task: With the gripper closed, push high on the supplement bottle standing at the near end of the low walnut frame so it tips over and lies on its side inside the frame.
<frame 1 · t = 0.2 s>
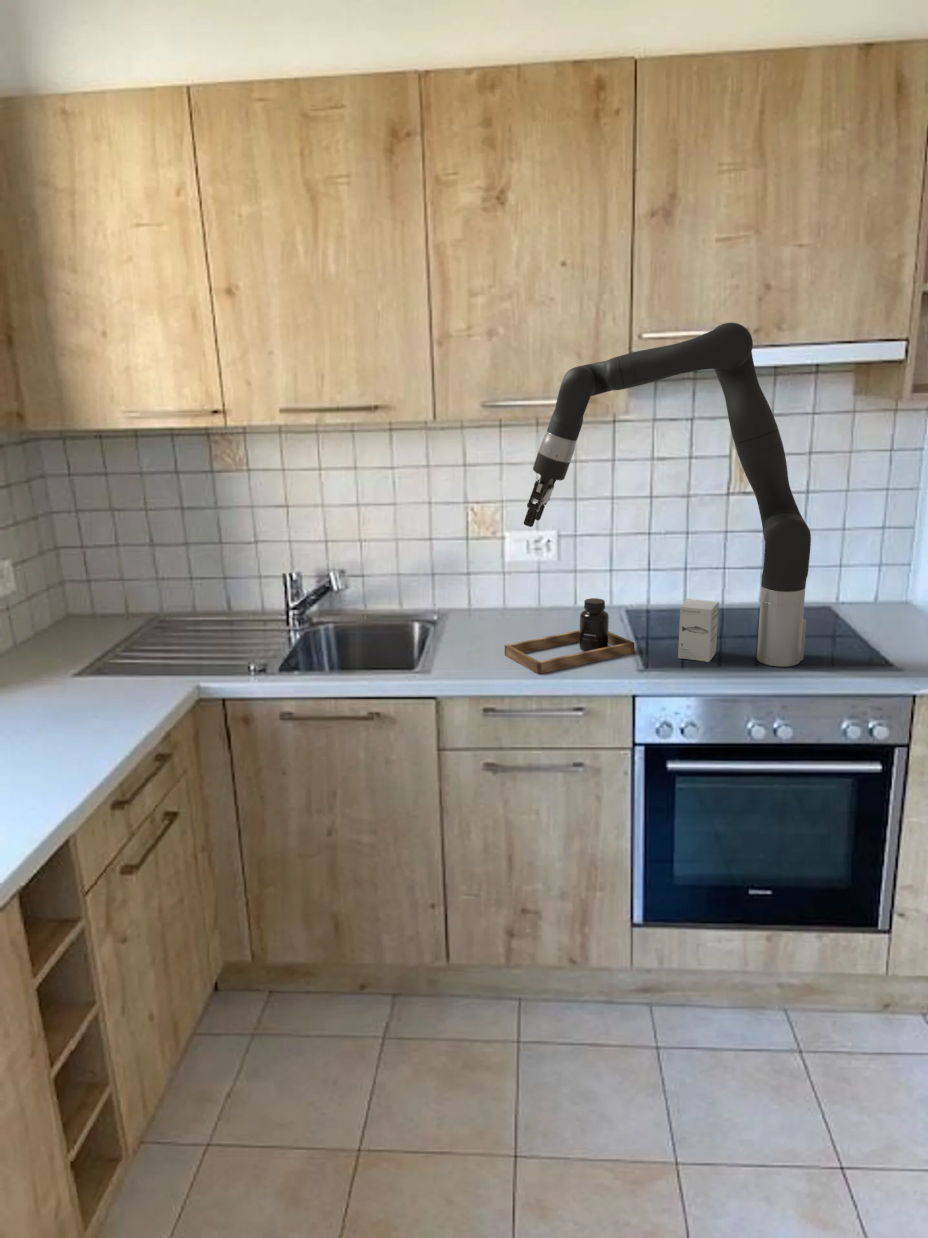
hand: (531, 522, 207), 31 cm above the table, tool tilted 20°, fingers open, 8 cm apart
walnut frame: (569, 654, 212), on the table
supplement box: (697, 656, 208), on the table
supplement bottle: (593, 649, 215), resting in walnut frame
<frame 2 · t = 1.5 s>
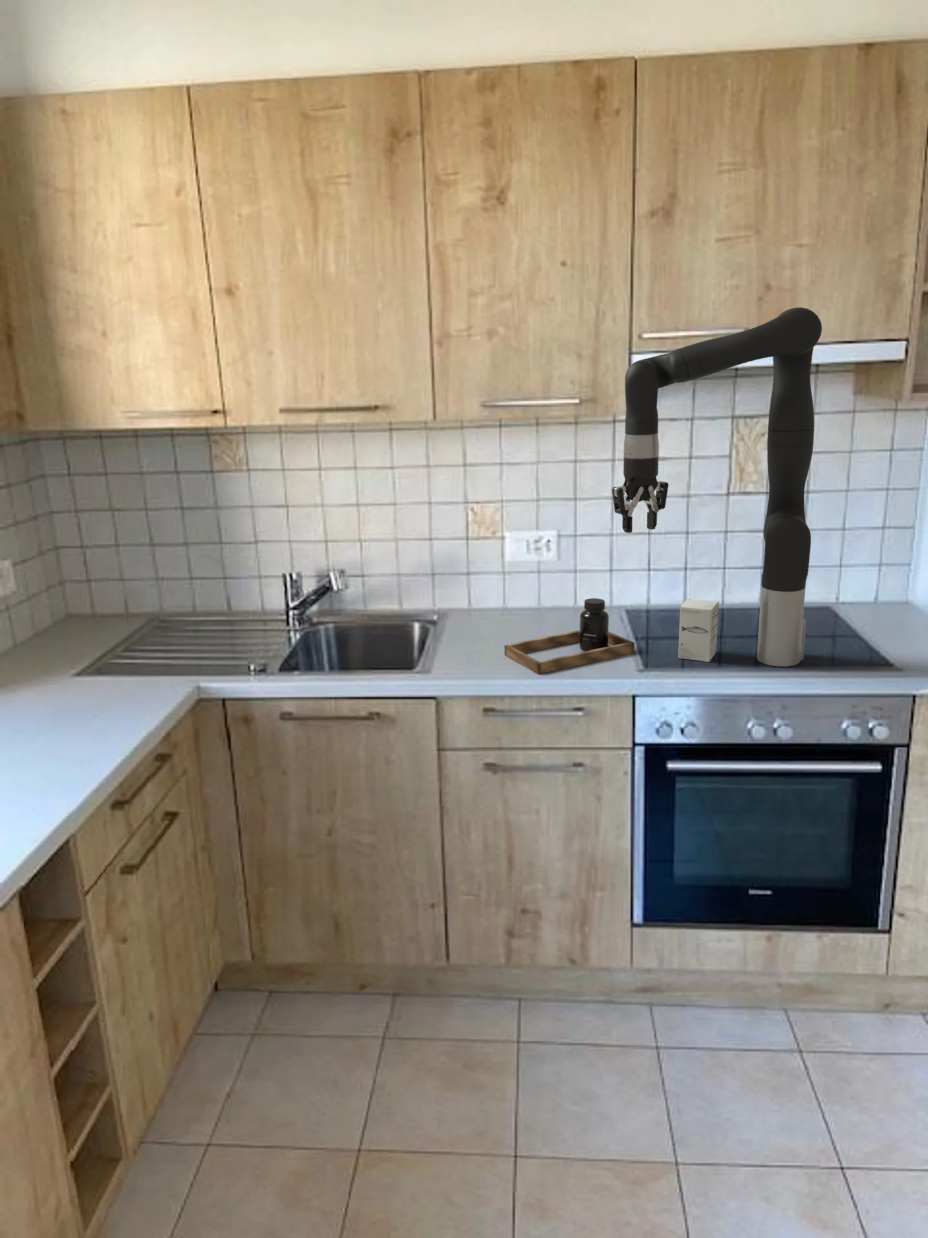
hand: (639, 530, 202), 29 cm above the table, tool pointing down, fingers open, 5 cm apart
nothing on the table moved.
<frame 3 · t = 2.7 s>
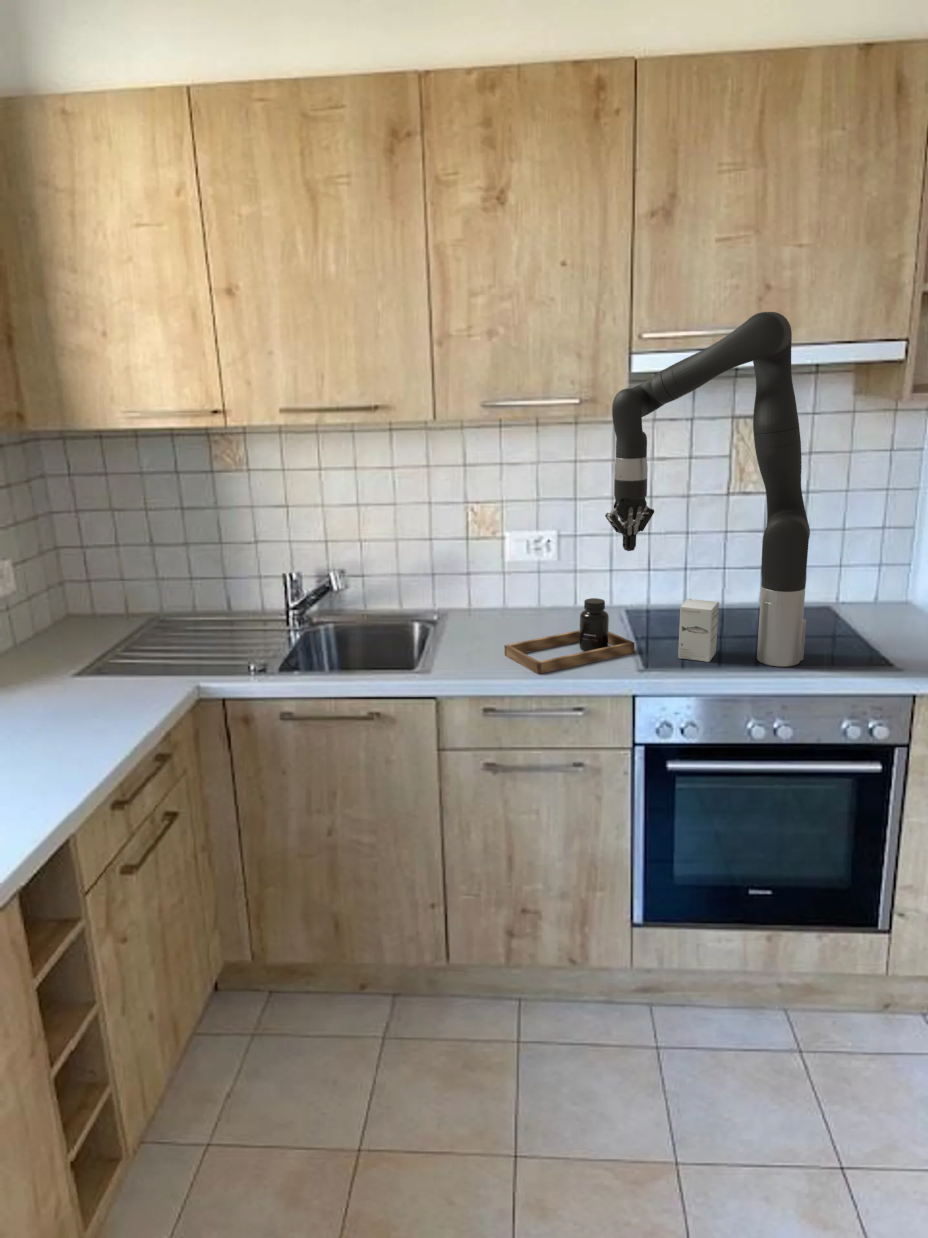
hand: (629, 550, 213), 23 cm above the table, tool pointing down, fingers closed
nothing on the table moved.
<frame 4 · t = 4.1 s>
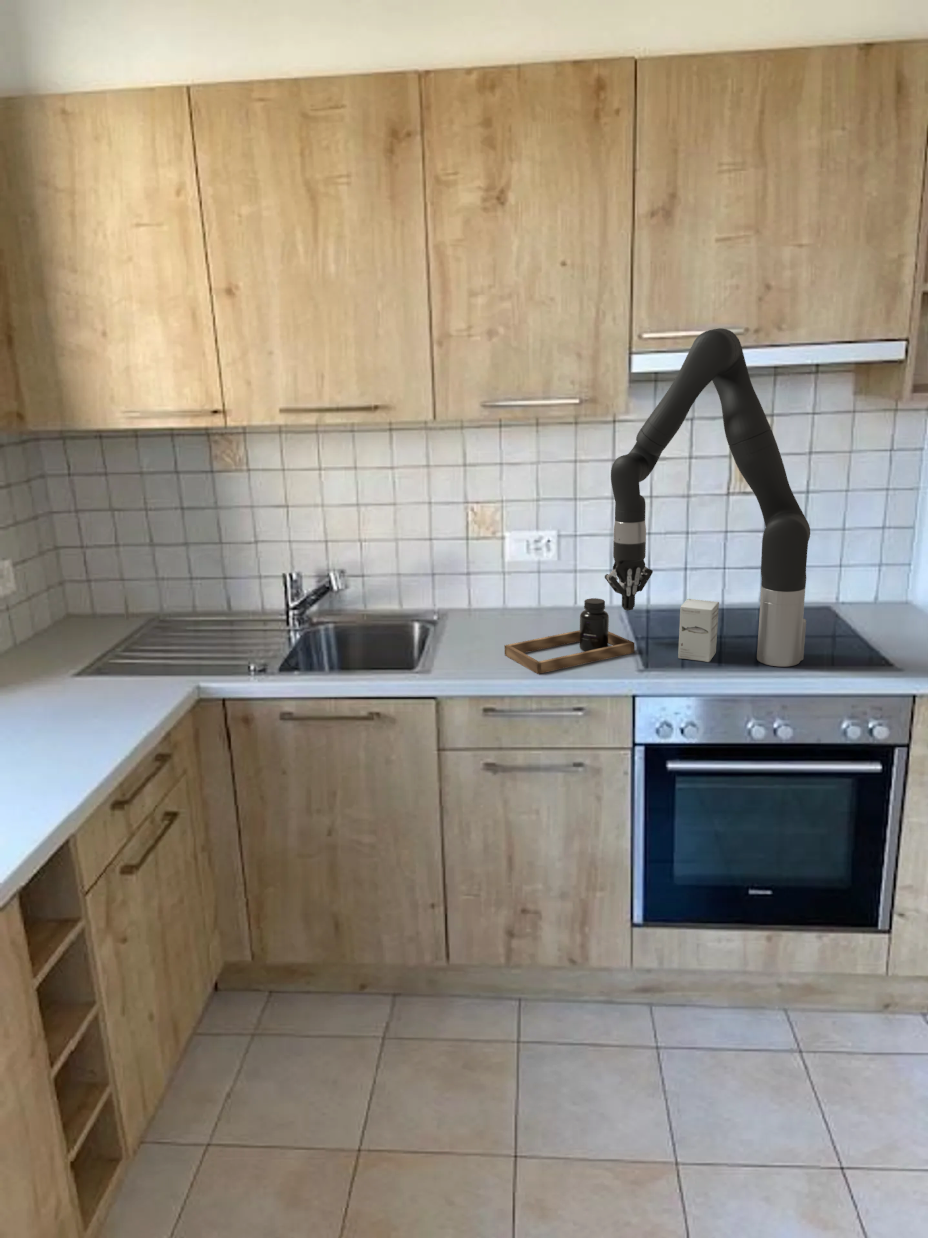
hand: (628, 609, 217), 8 cm above the table, tool pointing down, fingers closed
nothing on the table moved.
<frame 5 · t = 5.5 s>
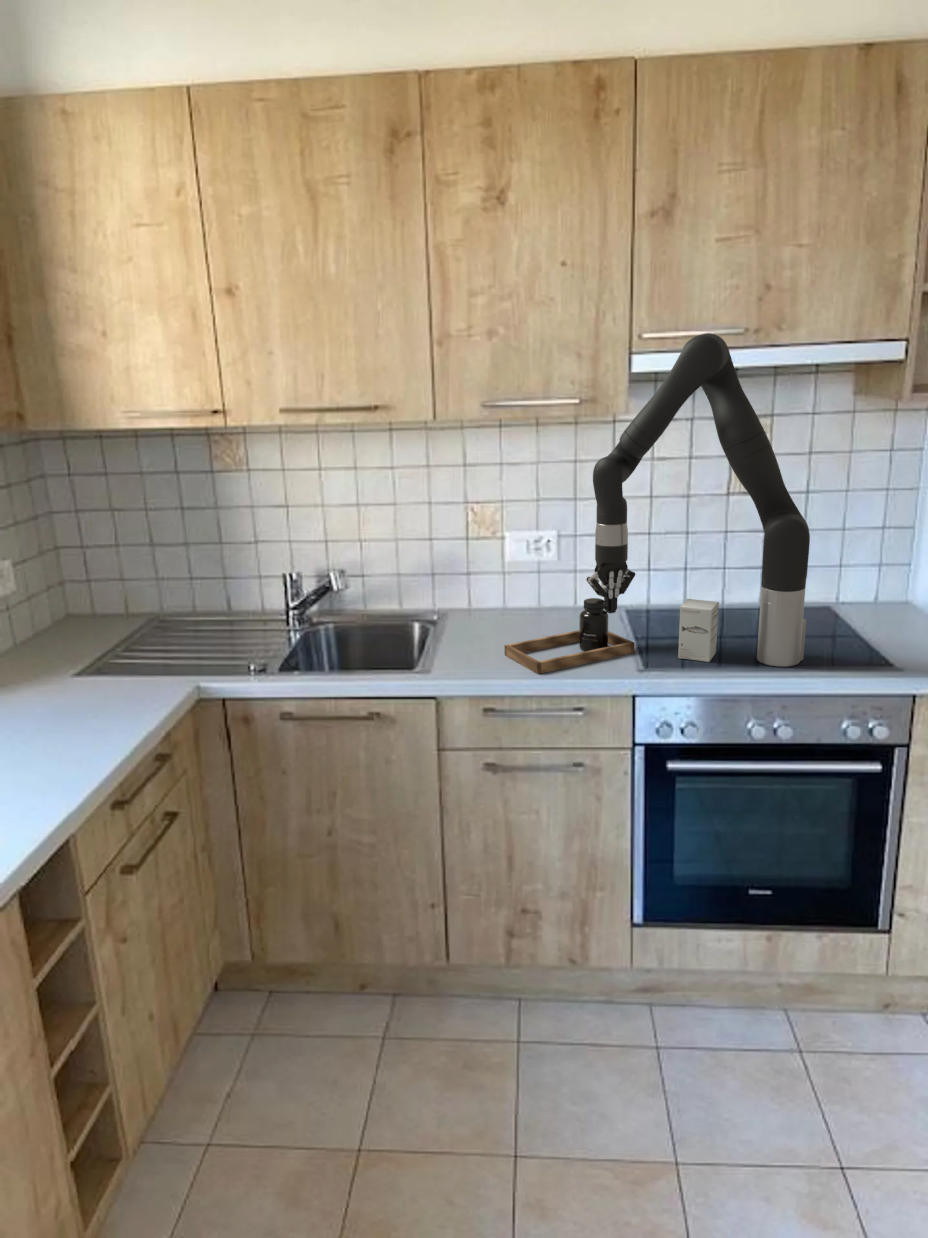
hand: (610, 612, 215), 8 cm above the table, tool pointing down, fingers closed
supplement bottle: (593, 649, 215), resting in walnut frame, touching gripper
everything else where it was.
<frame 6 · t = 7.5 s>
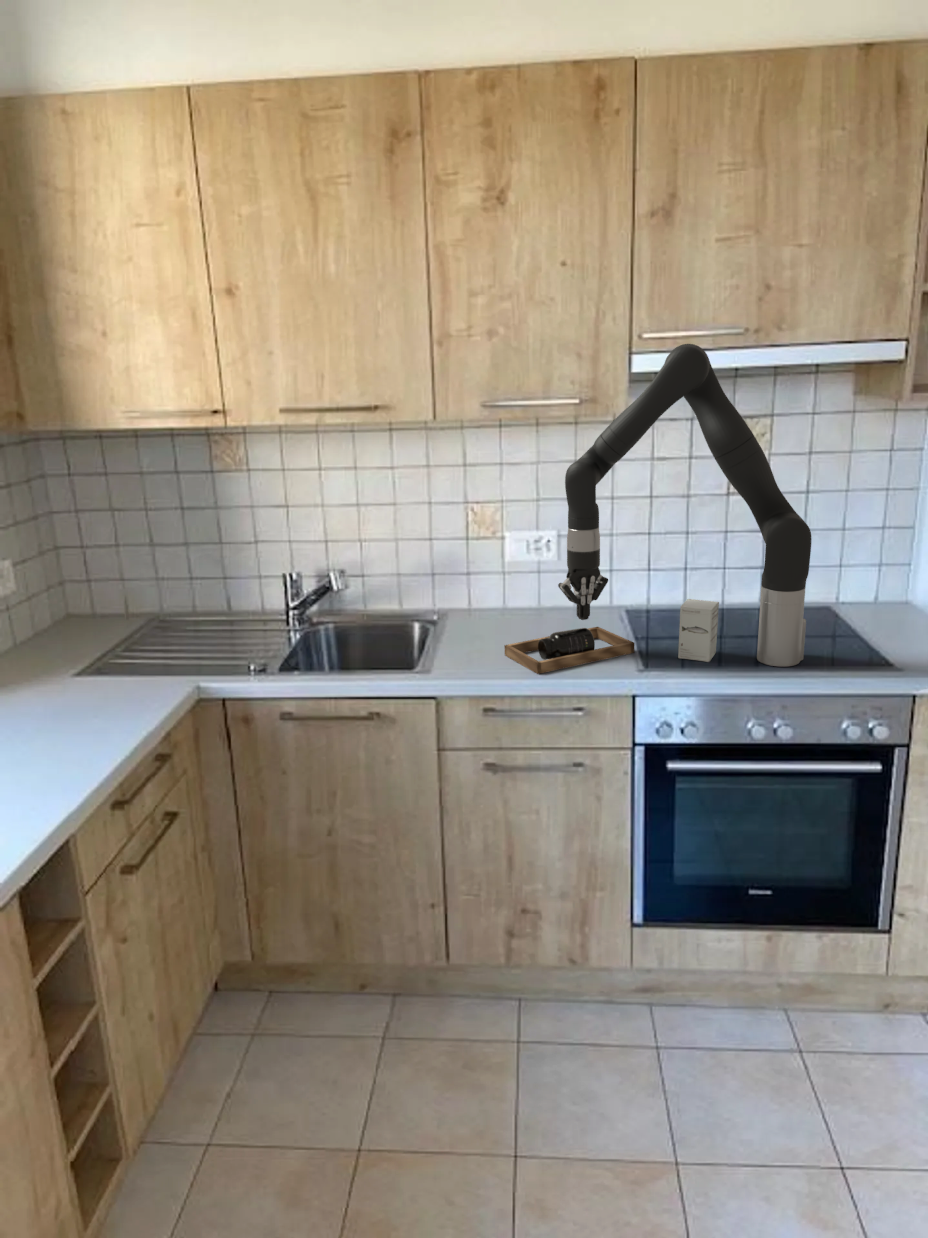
hand: (583, 618, 212), 8 cm above the table, tool pointing down, fingers closed
supplement bottle: (589, 641, 210), point 3 cm above the table
everything else where it was.
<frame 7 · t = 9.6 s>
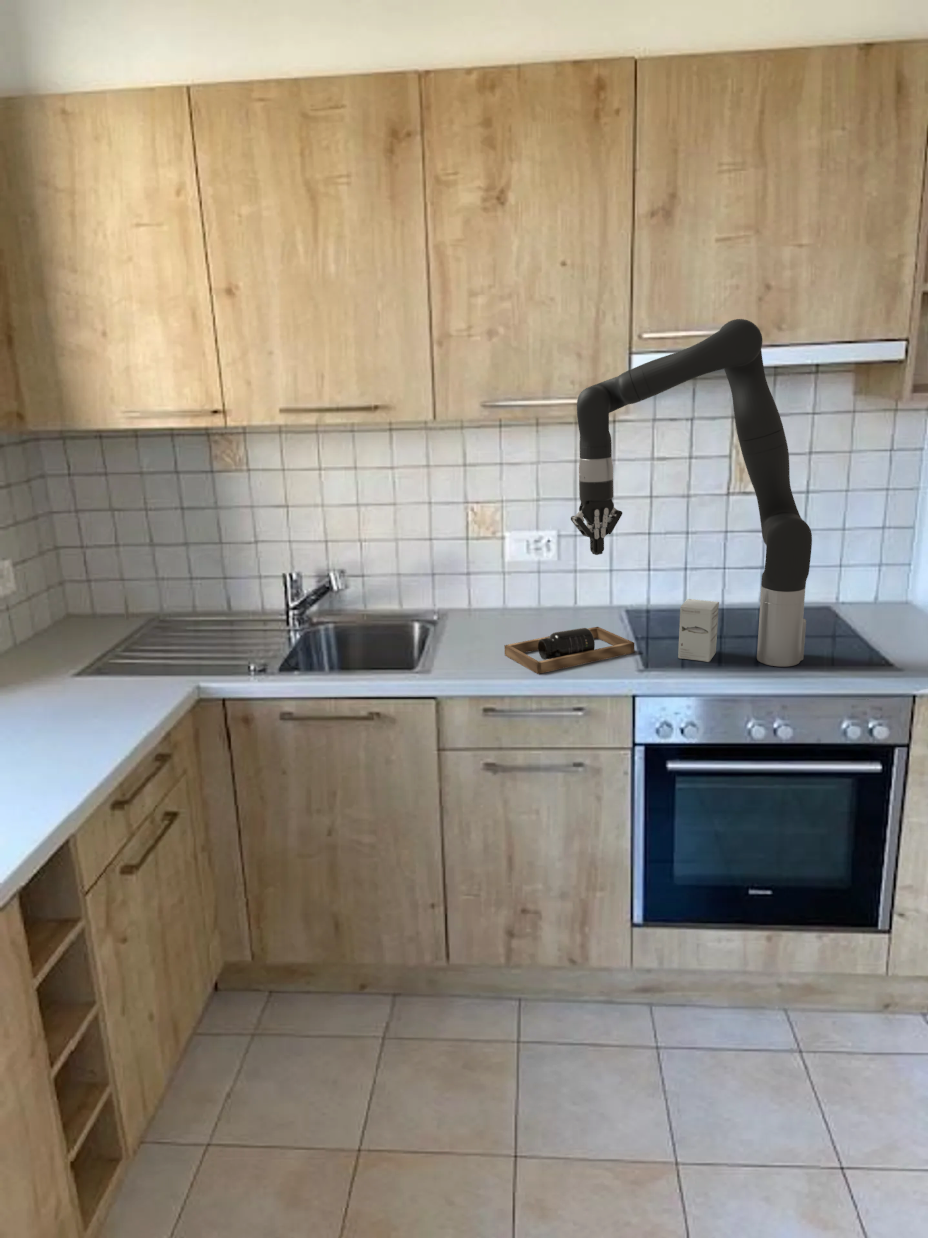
hand: (597, 553, 205), 24 cm above the table, tool pointing down, fingers closed
nothing on the table moved.
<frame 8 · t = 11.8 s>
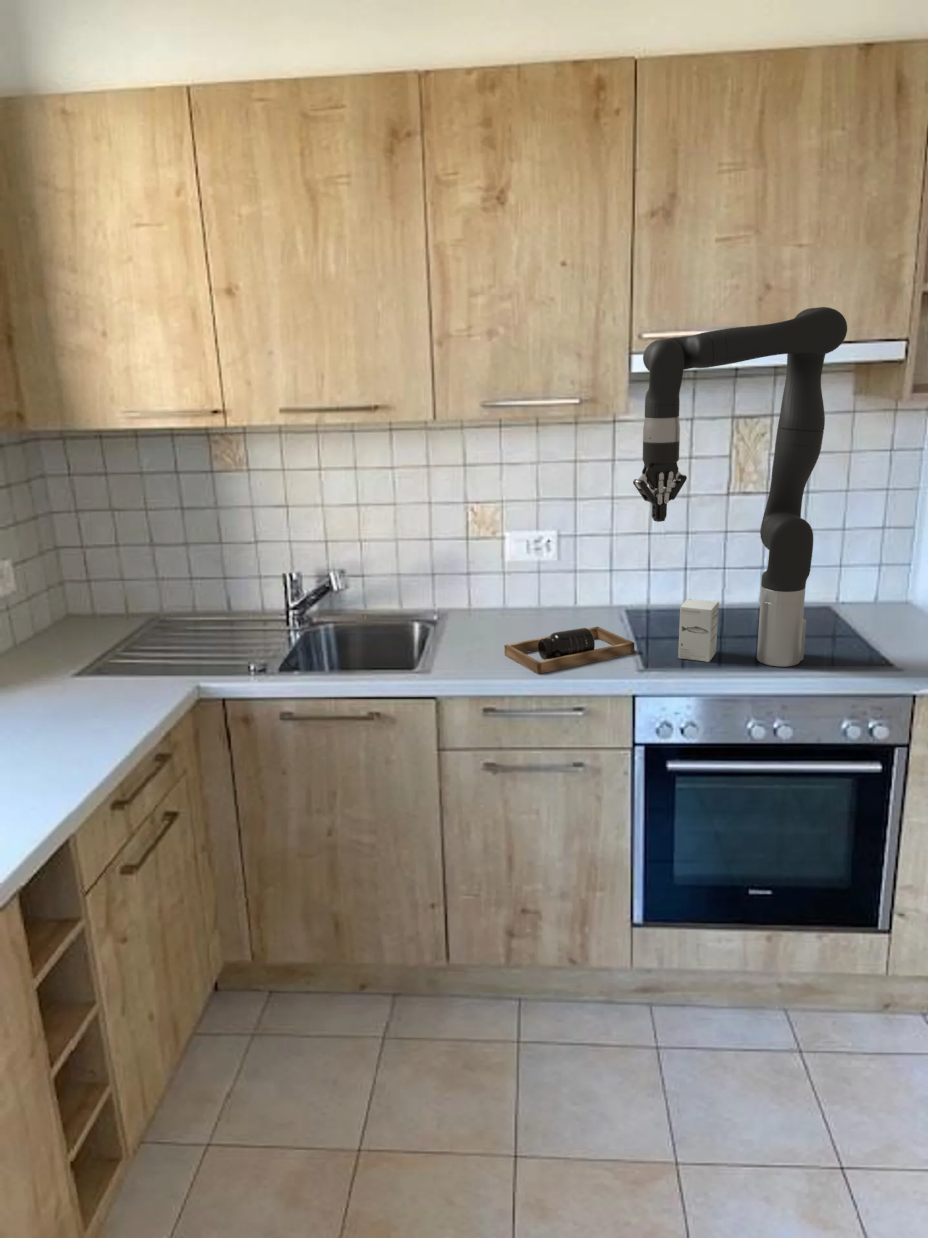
hand: (659, 520, 193), 33 cm above the table, tool pointing down, fingers closed
nothing on the table moved.
at the end: supplement bottle tilted 90°; supplement bottle inside the target area (5.1 cm from its centre), point 3.3 cm above the table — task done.
